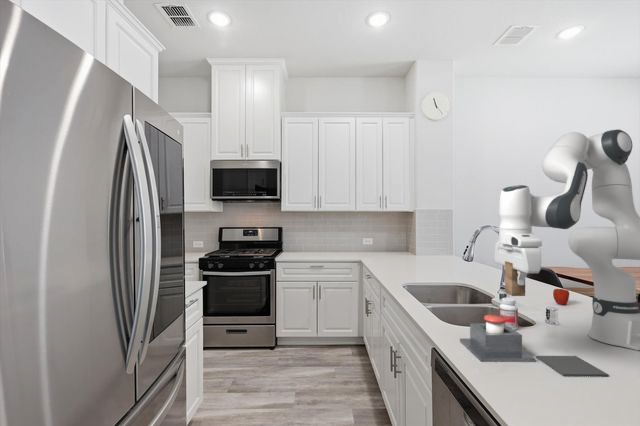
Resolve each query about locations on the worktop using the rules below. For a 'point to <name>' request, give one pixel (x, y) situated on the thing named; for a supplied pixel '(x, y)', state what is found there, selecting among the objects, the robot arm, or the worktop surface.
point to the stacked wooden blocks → (512, 281)
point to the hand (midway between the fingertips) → (515, 282)
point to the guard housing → (496, 345)
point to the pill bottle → (509, 312)
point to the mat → (571, 366)
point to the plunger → (494, 323)
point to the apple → (561, 296)
